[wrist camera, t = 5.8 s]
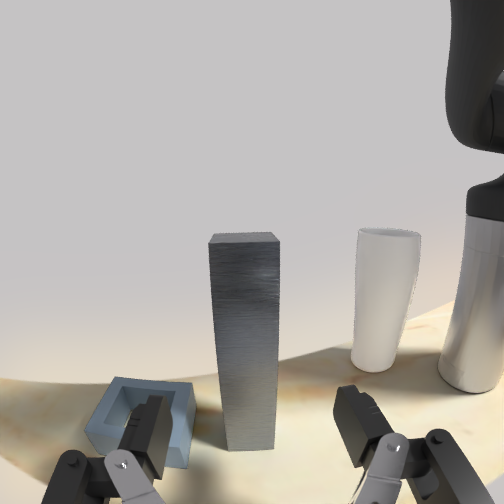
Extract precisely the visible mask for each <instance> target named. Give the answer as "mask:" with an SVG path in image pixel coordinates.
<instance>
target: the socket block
mask: <svg viewBox="0 0 504 504" xmlns="http://www.w3.org/2000/svg"><path fill="white" fill-rule="evenodd" d="M150 394H152V395H165V396H166V397H167V400H168V404H169V407H170V411H171V414H172V418H173V429H172V433H171V438H170V442H169V447H168V452H167V456H166V461H165V467H174V468H184V469H187V467H188V460H189V453H190V446H191V439H192V432H193V426H194V419H195V413H196V407H197V406H196V401H195V396H194V390H193V385H192V383H185V382H166V381H152V380H140V379H131V378H123V377H115V378H114V379H113V381H112V382H111V384H110V386H109V387H108V389H107V391H106V393H105V394H104V396H103V398H102V399H101V401H100V403H99V405H98V406H97V408H96V410H95V412H94V413H93V415H92V417H91V419H90V421H89V422H88V424H87V426H86V428H85V430H84V431H85V433H86V435H87V436H88V438H89V440H90V441H91V443H92V444H93V446H94V448H95V449H96V451H97V452H98V453H99V454H103V455H107V454H108V453H110V452H111V451H114V450H117V448H118V446H119V443H120V441H121V438H122V436H123V433H124V431H125V428H124V424H125V422H126V420H127V417H128V415H129V413H130V410H131V409H134V408H136V407H137V406H138V405H139V404H146V402H147V399H148V397H149V395H150Z"/></svg>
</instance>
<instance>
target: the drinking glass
mask: <svg viewBox="0 0 504 504" xmlns="http://www.w3.org/2000/svg"><path fill="white" fill-rule="evenodd" d="M420 246H421V235H420V234H419V233H416V232H413V231H408V230H402V229H393V228H363V229H360V230H359V231H358V240H357V252H356V268H355V269H356V270H355V318H354V319H355V320H354V336H353V346H352V351H351V360H352V362H353V364H354V365H355V366H356V367H357V368H359V369H361V370H363V371H366V372H382V371H385V370H387V369H388V368H390V367H391V366H392V364H393V363H394V360H395V356H396V353H397V349H398V346H399V343H400V339H401V336H402V333H403V330H404V326H405V323H406V320H407V316H408V313H409V309H410V305H411V302H412V297H413V294H414V289H415V285H416V281H417V275H418V269H419V261H420V248H421V247H420Z"/></svg>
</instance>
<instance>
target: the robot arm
mask: <svg viewBox="0 0 504 504" xmlns="http://www.w3.org/2000/svg"><path fill="white" fill-rule="evenodd" d="M450 2H451V17H452V18H451V23H452V24H451V40H450V51H449V60H448V68H447V77H446V88H445V90H446V91H445V102H446V114H447V119H448V123H449V126H450V128H451V131H452V133H453V134H454V136H455V137H456V139H457V140H458V141H459V142H460V143H462V144H463V145H465V146H467V147H470V148H473V149H478V150H483V151H484V150H485V151H489V152H495V153H501V154H504V71H503V70H504V0H450ZM466 213H467V214H468V215H466V226H465V239H464V250H463V258H462V266H461V272H460V278H459V284H458V290H457V295H456V300H455V304H454V309H453V313H452V317H451V321H450V325H449V329H448V332H447V336H446V339H445V343H444V346H443V349H442V352H441V355H440V358H439V361H438V370H439V372H440V374H441V376H442V377H443V378H444V380H445V381H447V382H448V383H449V384H450V385H452V386H454V387H455V388H457V389H460V390H462V391H466V392H471V393H480V392H486V391H489V390H491V389H492V388H494V387H495V386H496V385H497V384H498V382H499V380H500V378H501V376H502V373H503V371H504V174H503V175H502V176H500V177H499V178H497V179H495V180H493V181H490V182H487V183H483V184H479V185H476V186H473V187H471V188H470V189H469V190H468V193H467V199H466ZM333 416H334V420H335V422H336V425H337V427H338V429H339V432H340V434H341V437H342V439H343V441H344V444H345V446H346V448H347V451H348V453H349V456H350V458H351V460H352V463H353V465H354V468H357V467H361V466H363V468H364V472H363V474H362V477H361V479H360V481H359V483H358V485H357V487H356V489H355V491H354V493H353V495H352V497H351V499H350V501H349V503H348V504H395V503H396V500H397V497H398V495H399V492H400V489H401V485H402V481H400V479H407V482H408V484H409V486H410V488H411V491H412V493H413V495H414V497H415V500H416V502H417V504H495V503H494V501H493V500H492V498H491V496H490V494H489V493H488V491H487V489H486V488H485V486H484V485H483V483H482V481H481V480H480V478H479V477H478V475H477V473H476V472H475V470H474V469H473V467H472V466H471V464H470V462H469V461H468V459H467V458H466V456H465V455H464V453H463V452H462V450H461V449H460V447H459V446H458V444H457V443H456V442H455V440H454V439H453V437H452V436H451V434H450V433H449V432H448V431H446V430H444V429H434V430H431V431H430V432H429V433H428V434H427V435H426V437H425V438H417V439H407V438H406V437H405V436H404V435H402V434H399V433H395V432H394V431H393V429H392V428H391V426H390V425H389V423H388V421H387V420H386V418H385V417H384V415H383V413H382V412H381V410H380V409H379V407H378V406H377V404H376V402H375V401H374V399H373V398H372V397H371V396H369V395H368V394H367V393H365V392H364V393H359V391H358V389H357V388H356V386H355V385H348V386H343V387H339V388H338V390H337V395H336V399H335V404H334V408H333ZM172 429H173V418H172V414H171V411H170V407H169V404H168V400H167V397H166V396H165V395H152V394H150V395H149V397H148V399H147V402H146V404H139V405H138V406H137V407H136V408H134V409H133V411H132V413H131V416H130V419H129V421H128V423H127V426H126V428H125V431H124V433H123V436H122V438H121V441H120V443H119V446H118V448H117V450H114V451H111V452H110V453H108V454H107V455H106V457H101V458H86V456H85V455H84V454H83V453H82V452H80V451H78V450H68V451H66V452H64V453H63V454H62V455H61V456H60V458H59V461H58V463H57V465H56V468H55V470H54V472H53V475H52V477H51V479H50V482H49V484H48V487H47V490H46V492H45V495H44V498H43V500H42V503H41V504H109V501H110V498H121V499H122V504H165V502H164V501H163V500H162V498H161V497H160V496H159V494H158V493H157V491H156V490H155V488H154V487H153V482H154V479H159V480H162V476H163V471H164V466H165V461H166V456H167V452H168V447H169V442H170V438H171V433H172Z"/></svg>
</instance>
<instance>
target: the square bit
mask: <svg viewBox="0 0 504 504" xmlns="http://www.w3.org/2000/svg"><path fill="white" fill-rule="evenodd" d="M208 245H209V264H210V280H211V295H212V309H213V321H214V333H215V344H216V354H217V364H218V374H219V383H220V392H221V401H222V409H223V416H224V424H225V431H226V439H227V446H228V451H254V450H269V449H274V440H275V422H276V401H277V377H278V345H279V298H280V297H279V295H280V294H279V293H280V241H279V240H278V239H277V238H276V237H275V236H274V235H273V234H272V233H271V232H253V233H219V234H214V235H213V237H212V238H211V240H210V242H209V243H208Z"/></svg>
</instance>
